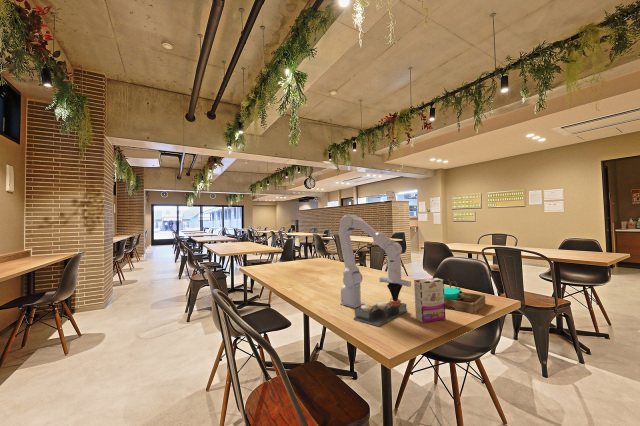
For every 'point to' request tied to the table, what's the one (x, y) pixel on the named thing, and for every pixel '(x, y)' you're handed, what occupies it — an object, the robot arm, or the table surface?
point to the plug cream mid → (381, 305)
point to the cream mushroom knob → (366, 308)
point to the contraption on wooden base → (454, 294)
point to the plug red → (395, 302)
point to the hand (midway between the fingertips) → (395, 300)
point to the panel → (379, 314)
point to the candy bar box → (429, 300)
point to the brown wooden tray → (466, 306)
